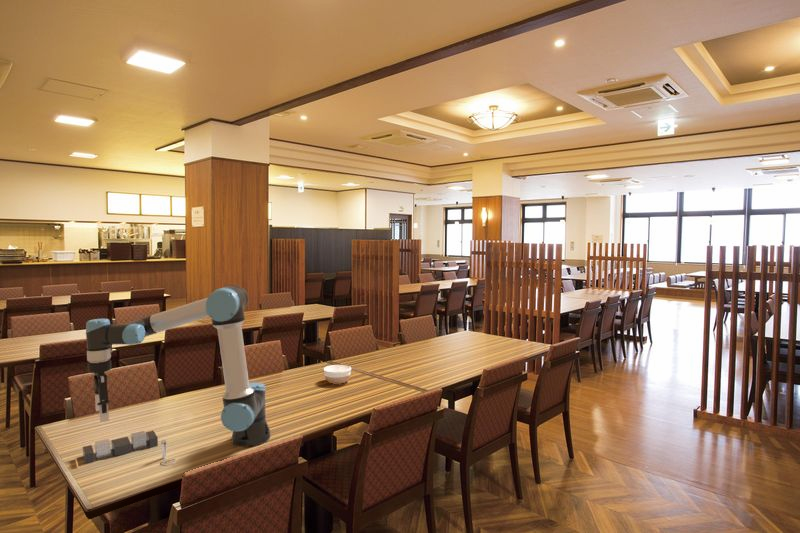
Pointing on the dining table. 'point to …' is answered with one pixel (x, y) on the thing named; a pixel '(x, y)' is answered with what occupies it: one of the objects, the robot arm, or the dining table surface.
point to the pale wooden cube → (102, 448)
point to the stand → (165, 454)
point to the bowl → (337, 373)
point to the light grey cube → (138, 440)
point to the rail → (120, 447)
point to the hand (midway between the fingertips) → (102, 415)
